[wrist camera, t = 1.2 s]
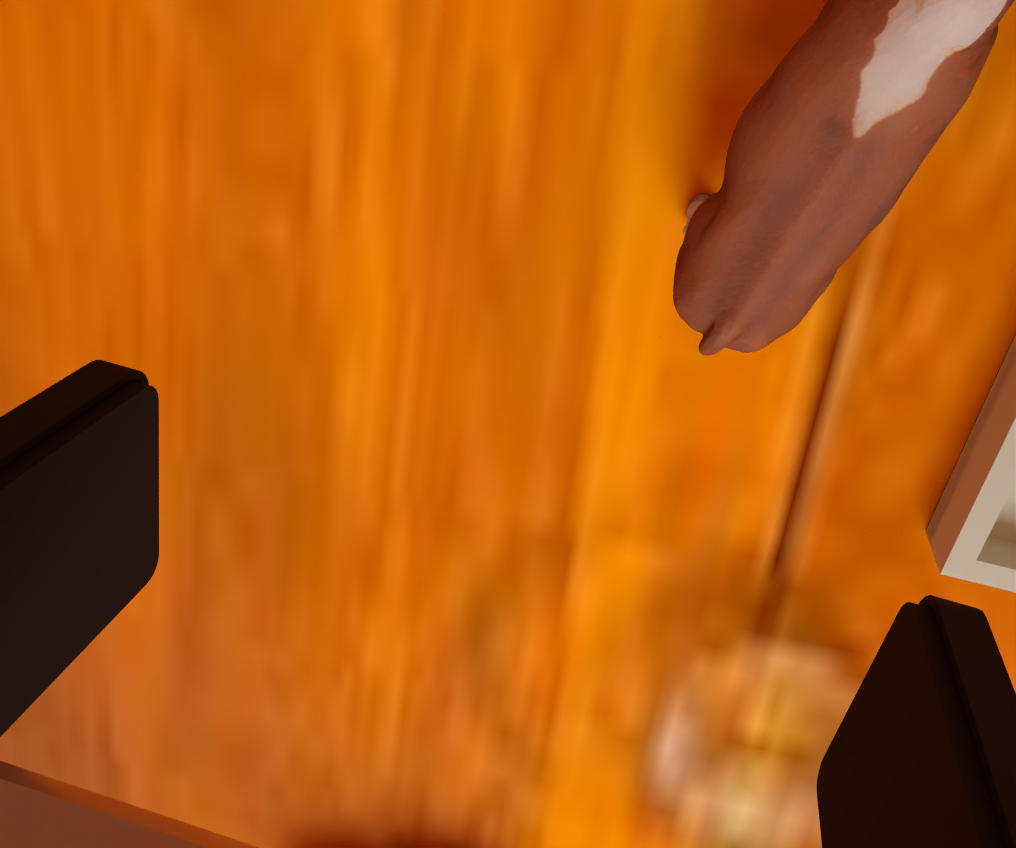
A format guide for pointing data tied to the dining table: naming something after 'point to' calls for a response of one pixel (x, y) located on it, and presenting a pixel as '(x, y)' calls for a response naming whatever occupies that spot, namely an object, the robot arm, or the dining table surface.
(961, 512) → the tray
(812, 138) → the bull figurine
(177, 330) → the dining table surface
